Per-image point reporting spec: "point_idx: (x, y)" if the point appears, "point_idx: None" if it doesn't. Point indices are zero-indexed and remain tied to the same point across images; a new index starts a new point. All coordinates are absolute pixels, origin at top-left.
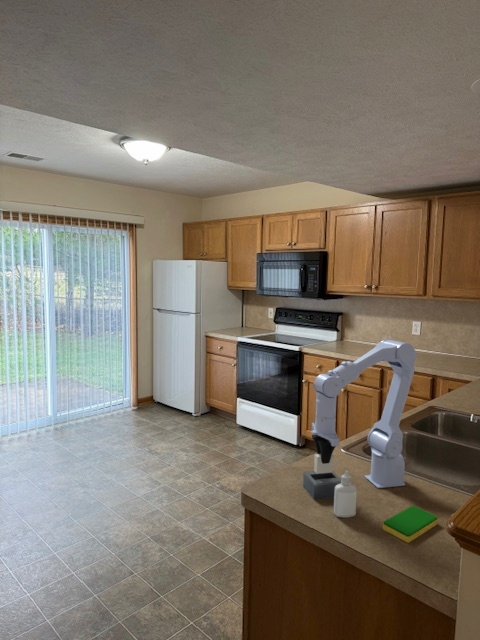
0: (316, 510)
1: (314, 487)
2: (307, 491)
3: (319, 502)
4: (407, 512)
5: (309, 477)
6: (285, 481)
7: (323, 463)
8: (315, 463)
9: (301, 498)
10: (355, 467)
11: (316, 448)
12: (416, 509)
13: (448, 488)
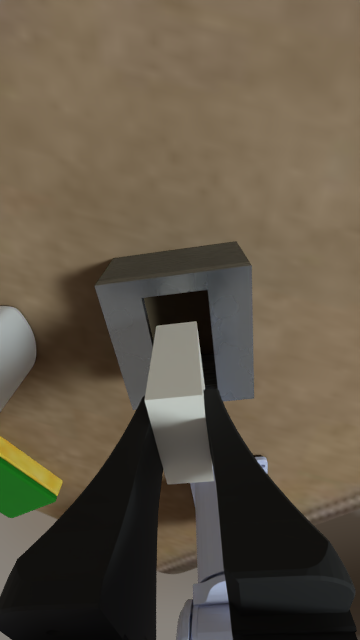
0: (21, 245)
1: (99, 279)
2: (183, 249)
3: (90, 275)
4: (13, 482)
5: (171, 279)
6: (308, 156)
7: (142, 399)
8: (176, 355)
9: (120, 203)
10: (339, 452)
11: (233, 446)
12: (34, 500)
13: (178, 557)
